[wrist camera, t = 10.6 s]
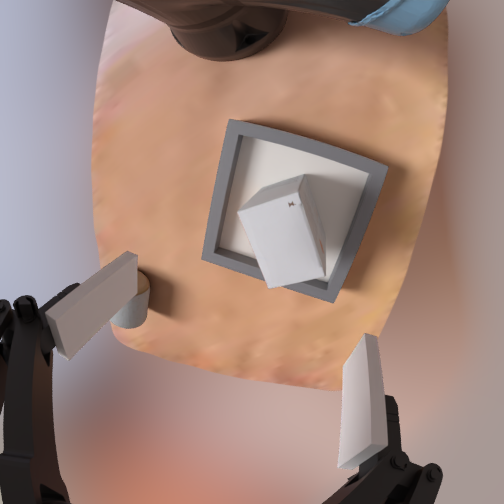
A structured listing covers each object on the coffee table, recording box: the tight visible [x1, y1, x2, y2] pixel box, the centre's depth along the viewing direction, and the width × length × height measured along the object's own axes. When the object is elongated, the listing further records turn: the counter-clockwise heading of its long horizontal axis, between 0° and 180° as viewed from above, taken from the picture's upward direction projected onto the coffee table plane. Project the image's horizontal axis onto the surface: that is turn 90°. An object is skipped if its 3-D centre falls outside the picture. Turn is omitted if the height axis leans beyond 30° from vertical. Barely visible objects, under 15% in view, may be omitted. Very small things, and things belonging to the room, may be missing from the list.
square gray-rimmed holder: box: [201, 119, 388, 303], centre depth 33 cm, size 18×18×4 cm
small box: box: [237, 174, 326, 289], centre depth 28 cm, size 8×6×10 cm
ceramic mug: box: [110, 271, 150, 329], centre depth 43 cm, size 11×8×8 cm
